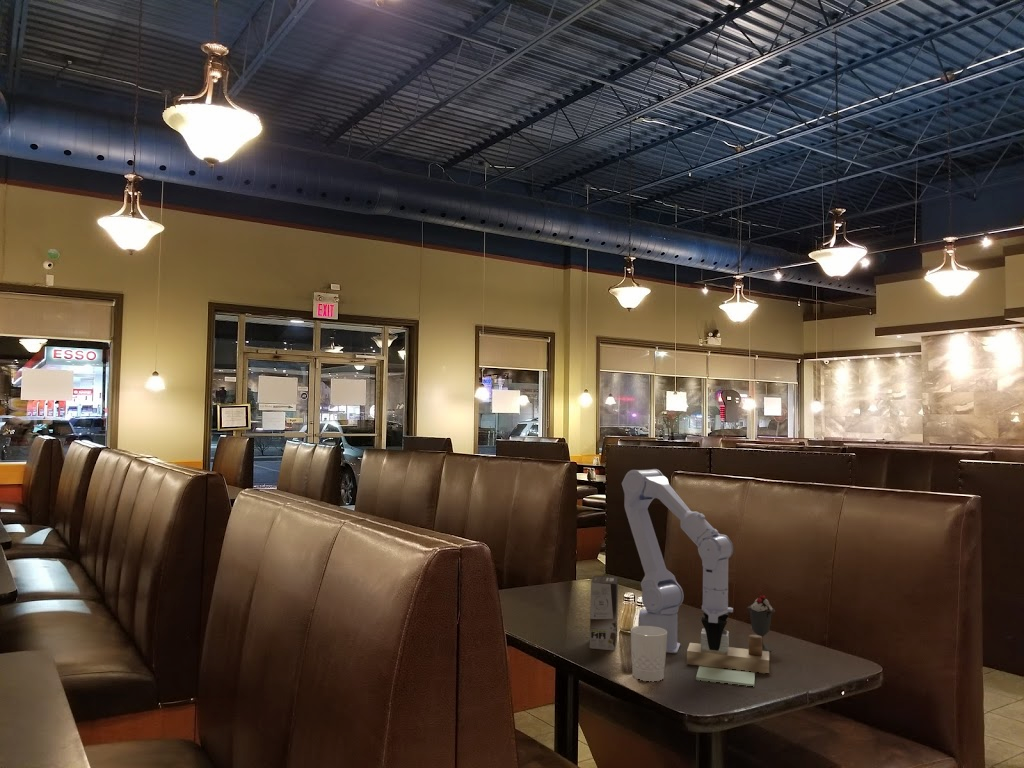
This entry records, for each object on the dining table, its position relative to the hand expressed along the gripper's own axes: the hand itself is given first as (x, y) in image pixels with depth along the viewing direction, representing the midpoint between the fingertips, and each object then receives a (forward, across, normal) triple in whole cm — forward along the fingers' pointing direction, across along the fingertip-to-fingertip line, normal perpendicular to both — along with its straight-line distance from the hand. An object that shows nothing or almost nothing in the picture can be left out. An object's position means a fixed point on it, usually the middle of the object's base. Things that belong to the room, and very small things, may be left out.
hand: (714, 646), depth 177 cm
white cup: (+4, -16, +13) cm, 21 cm away
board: (+4, -10, -3) cm, 11 cm away
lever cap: (+1, 0, 0) cm, 1 cm away
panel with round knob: (+4, 0, -3) cm, 5 cm away
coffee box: (+4, +4, +27) cm, 28 cm away
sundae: (+4, +15, -10) cm, 18 cm away
